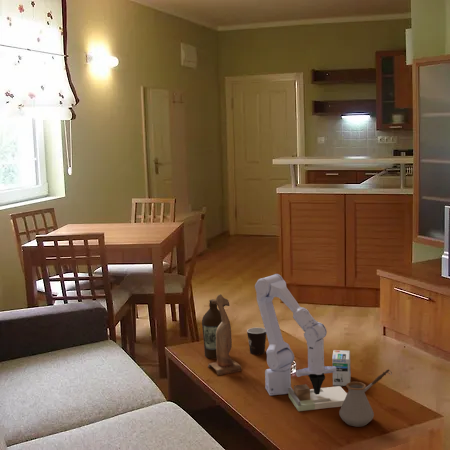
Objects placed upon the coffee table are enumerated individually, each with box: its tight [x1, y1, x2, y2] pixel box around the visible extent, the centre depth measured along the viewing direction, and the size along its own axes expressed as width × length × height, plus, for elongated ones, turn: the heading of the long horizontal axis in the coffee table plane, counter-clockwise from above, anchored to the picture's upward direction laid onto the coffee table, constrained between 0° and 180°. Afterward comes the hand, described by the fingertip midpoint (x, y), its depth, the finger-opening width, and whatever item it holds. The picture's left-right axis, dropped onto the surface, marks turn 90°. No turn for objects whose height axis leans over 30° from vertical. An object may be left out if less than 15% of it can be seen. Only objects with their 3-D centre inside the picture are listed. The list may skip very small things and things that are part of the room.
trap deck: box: [288, 385, 348, 412], centre depth 245 cm, size 20×13×4 cm, turn 100°
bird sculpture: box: [207, 294, 242, 376], centre depth 278 cm, size 11×12×32 cm
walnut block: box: [293, 383, 310, 401], centre depth 243 cm, size 5×5×4 cm
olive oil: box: [201, 298, 222, 360], centre depth 296 cm, size 11×11×25 cm
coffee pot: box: [338, 368, 393, 428], centre depth 229 cm, size 21×12×15 cm, turn 121°
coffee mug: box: [246, 327, 267, 356], centre depth 300 cm, size 12×9×10 cm
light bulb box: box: [331, 349, 352, 387], centre depth 262 cm, size 11×7×11 cm, turn 168°
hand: (316, 393), depth 244 cm, fingers closed
